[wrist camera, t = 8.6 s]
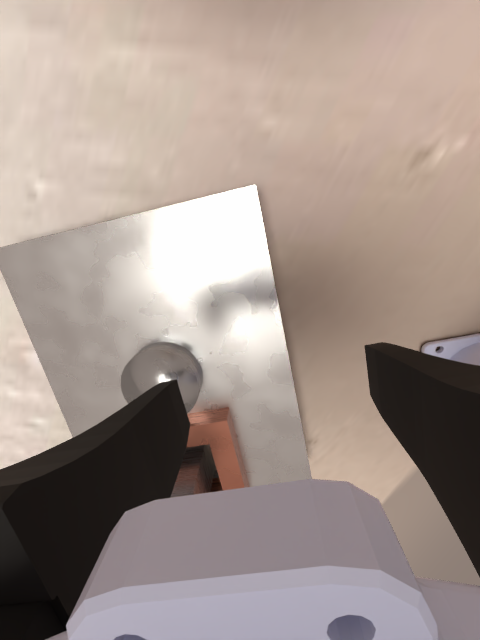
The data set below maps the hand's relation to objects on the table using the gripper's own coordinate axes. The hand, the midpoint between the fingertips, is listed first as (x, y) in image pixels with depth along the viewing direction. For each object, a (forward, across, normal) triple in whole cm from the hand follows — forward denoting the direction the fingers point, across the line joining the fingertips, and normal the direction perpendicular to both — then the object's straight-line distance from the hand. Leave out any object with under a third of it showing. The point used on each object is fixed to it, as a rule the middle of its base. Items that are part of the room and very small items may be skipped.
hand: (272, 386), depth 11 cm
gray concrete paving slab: (+10, +7, +4) cm, 13 cm away
